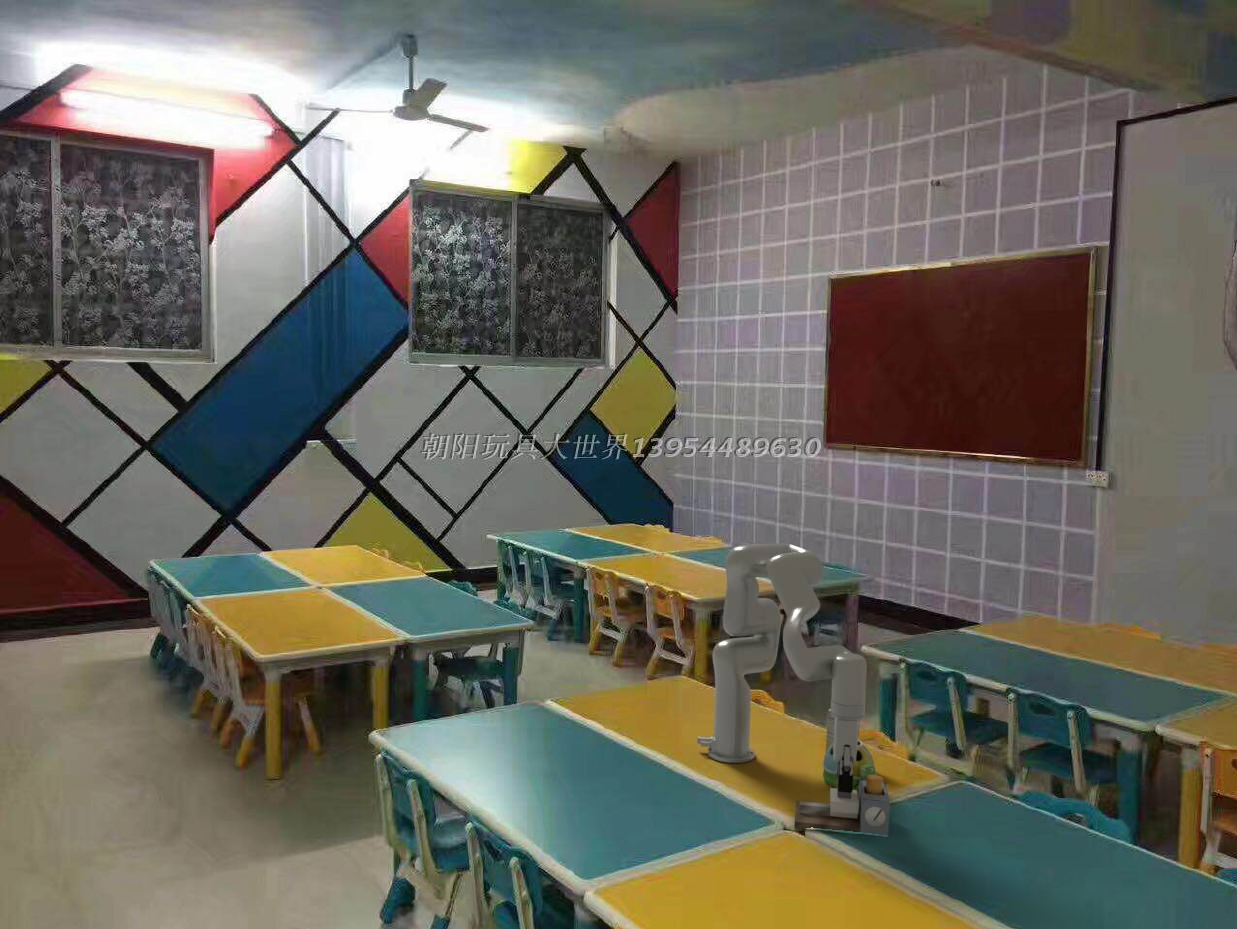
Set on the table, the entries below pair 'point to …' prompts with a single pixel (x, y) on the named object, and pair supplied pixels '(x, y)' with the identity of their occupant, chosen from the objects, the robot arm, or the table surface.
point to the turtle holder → (859, 768)
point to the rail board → (822, 818)
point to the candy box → (831, 730)
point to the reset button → (874, 784)
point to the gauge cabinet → (873, 810)
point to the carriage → (843, 802)
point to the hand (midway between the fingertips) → (844, 784)
